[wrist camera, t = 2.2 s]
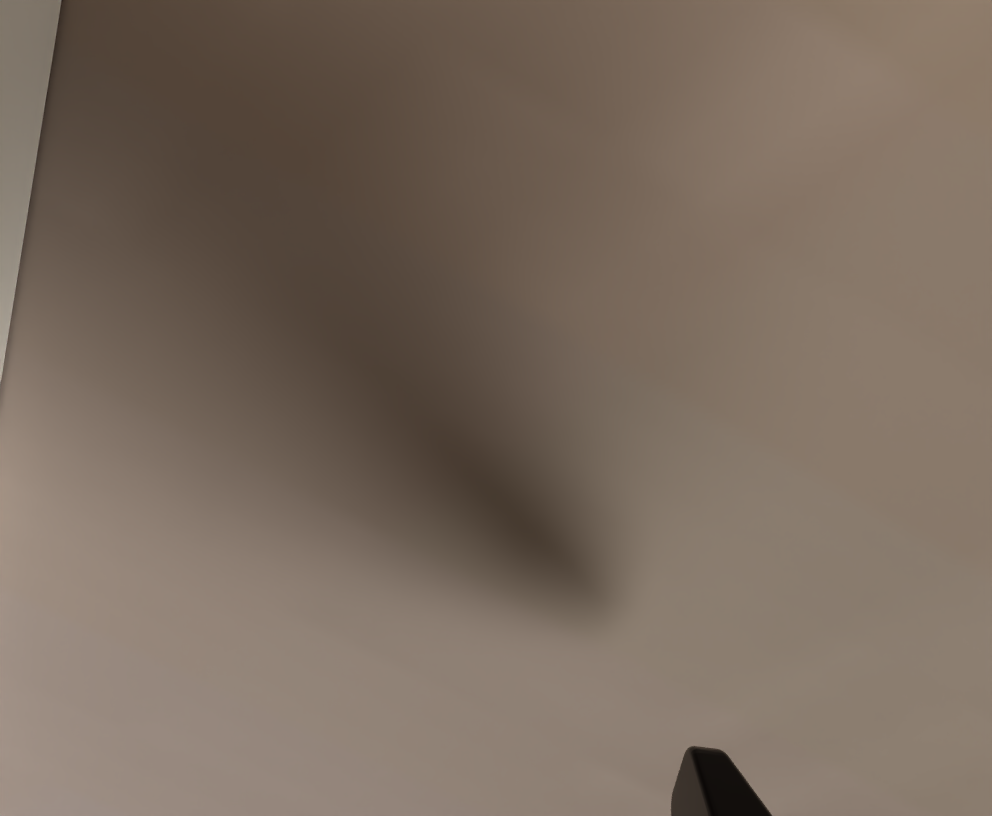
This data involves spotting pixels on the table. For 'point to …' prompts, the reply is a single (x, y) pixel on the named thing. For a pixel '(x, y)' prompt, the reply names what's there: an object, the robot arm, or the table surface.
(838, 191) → the table surface
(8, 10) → the board
